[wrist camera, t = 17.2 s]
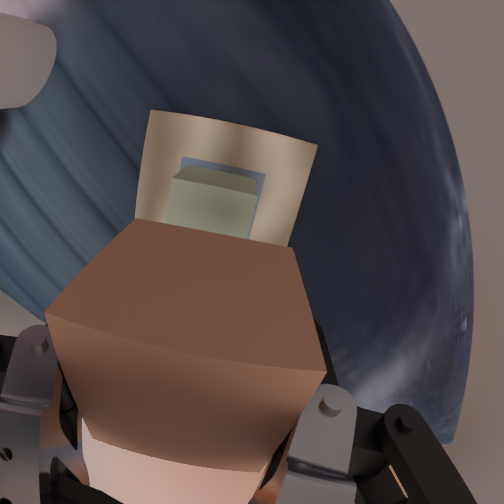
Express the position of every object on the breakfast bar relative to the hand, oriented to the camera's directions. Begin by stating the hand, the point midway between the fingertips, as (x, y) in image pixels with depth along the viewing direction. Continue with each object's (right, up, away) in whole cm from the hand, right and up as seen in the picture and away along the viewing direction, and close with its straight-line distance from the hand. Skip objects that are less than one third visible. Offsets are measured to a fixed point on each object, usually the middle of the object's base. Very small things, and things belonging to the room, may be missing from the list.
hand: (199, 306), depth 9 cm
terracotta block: (0, 0, 0) cm, 0 cm away
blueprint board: (-2, +6, +17) cm, 18 cm away
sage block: (-2, +6, +16) cm, 17 cm away
